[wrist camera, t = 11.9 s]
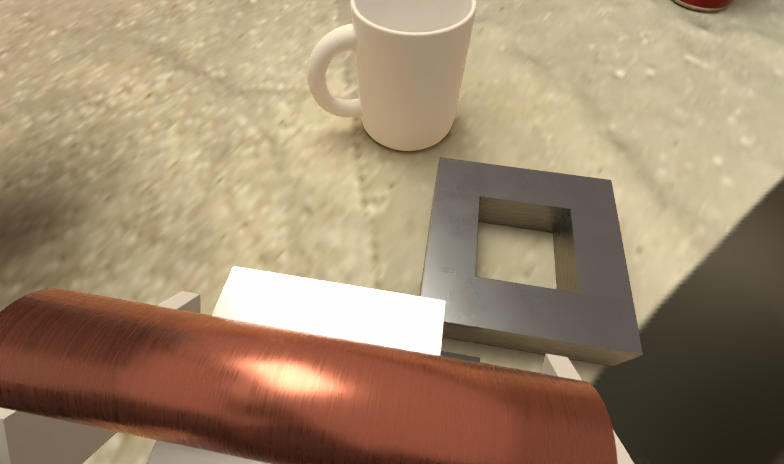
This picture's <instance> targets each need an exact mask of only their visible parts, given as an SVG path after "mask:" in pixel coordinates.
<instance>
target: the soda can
mask: <svg viewBox="0 0 784 464" xmlns="http://www.w3.org/2000/svg"><path fill="white" fill-rule="evenodd" d="M673 1H674V2H675V3H677V4H679V5H681V6H683V7H685V8H688V9H692V10H696V11H702V12H713V11H718V10H721V9H723V8H725V7H727V6H729V5H730V4H731V3H732V2H733V1H734V0H673Z"/></svg>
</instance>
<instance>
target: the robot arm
mask: <svg viewBox="0 0 784 464" xmlns="http://www.w3.org/2000/svg"><path fill="white" fill-rule="evenodd" d="M156 306H161V307H166V308H172V309H178V310H183V311H189V312H195V313H200V294H196V293H190V292H185V291H181V292H179V293H177V294H176V295H174V296H172V297H170V298H169V299H167V300H165V301H163V302H162V303H160V304H158V305H156ZM541 374H547V375H553V376H558V377H564V378H570V379H576V380H581V381H582V379H581V378H580V376H579V375H578V373H577V371H576V370H575V368H574V367H573V365H572V363H571V362H570V360H569V359H568V357H563V356H557V355H551V354H545V358H544V362H543V366H542V370H541ZM115 433H117V432H116V431H111V430H106V429H101V428H96V427H91V426H87V425H82V424H77V423H72V422H67V421H63V420H58V419H53V418H48V417H43V416H39V415H34V414H29V413H24V412H19V411H15V410H10V409H5V408H0V464H82V463H83V462H84V461H86V460H87V459H88V458H89V457H90V456H91V455H92V454H93V453H94V452H95V451H97V450H98V449H99V448H100V447H101V446H102V445H103V444H104V443H105V442H107V441H108V440H109V439H110V438H111V437H112V436H113V435H114V434H115ZM613 433H614V437H615V443H616V450H617V461H618V464H651V463H650V462H649V461H648V460H647V459H646V458H643V457H637V456H632V455H628V453H627V451H626V450H625V448H624V447H623V445H622V443H621V442H620V440H619V438H618V437H617V435H616V434H615V432H614V431H613Z"/></svg>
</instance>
